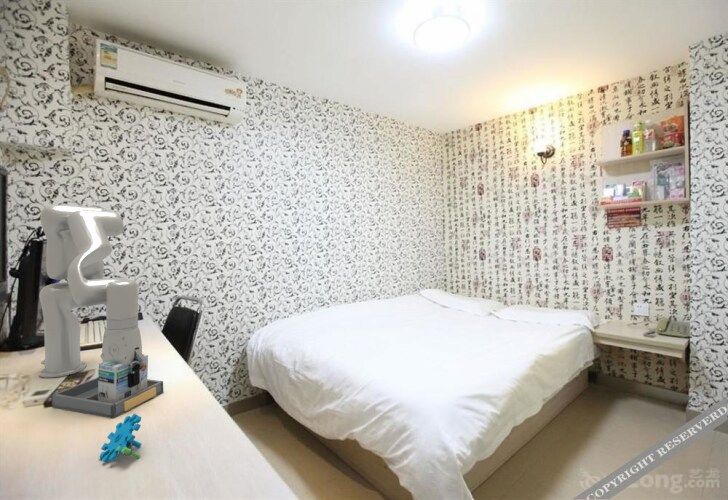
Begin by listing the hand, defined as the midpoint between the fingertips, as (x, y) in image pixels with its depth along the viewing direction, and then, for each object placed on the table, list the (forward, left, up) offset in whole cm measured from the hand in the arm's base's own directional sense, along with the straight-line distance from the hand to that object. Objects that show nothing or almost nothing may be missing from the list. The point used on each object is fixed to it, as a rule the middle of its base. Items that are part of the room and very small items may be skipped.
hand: (123, 383), depth 101 cm
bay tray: (-5, 0, -5) cm, 7 cm away
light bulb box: (0, 0, -4) cm, 4 cm away
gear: (+23, -19, -6) cm, 30 cm away
